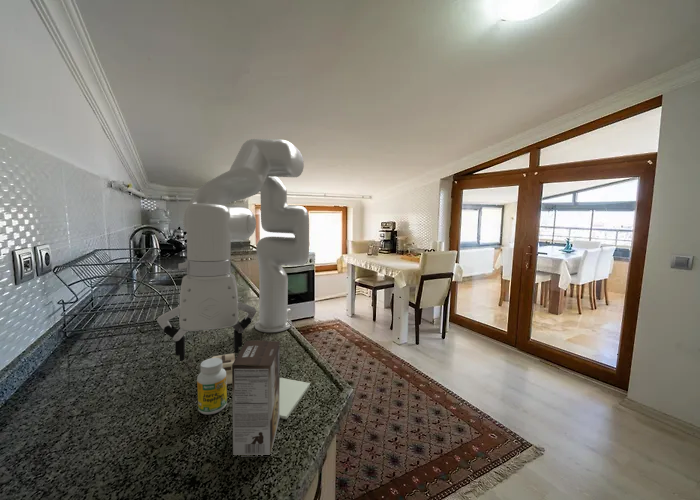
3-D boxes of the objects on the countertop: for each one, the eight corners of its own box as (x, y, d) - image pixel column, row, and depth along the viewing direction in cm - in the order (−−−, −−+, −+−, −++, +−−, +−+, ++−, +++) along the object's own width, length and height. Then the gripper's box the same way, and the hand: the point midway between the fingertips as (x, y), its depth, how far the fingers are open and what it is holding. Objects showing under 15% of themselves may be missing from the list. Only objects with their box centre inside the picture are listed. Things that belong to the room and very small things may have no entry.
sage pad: (263, 376, 72) (263, 374, 72) (310, 385, 69) (310, 383, 69) (232, 407, 60) (232, 404, 60) (286, 419, 57) (286, 416, 57)
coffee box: (246, 419, 57) (246, 339, 55) (280, 418, 57) (281, 339, 55) (231, 458, 48) (230, 364, 46) (271, 457, 48) (272, 364, 46)
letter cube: (212, 376, 71) (212, 355, 71) (234, 372, 73) (234, 352, 73) (212, 387, 67) (211, 366, 66) (235, 383, 69) (235, 362, 68)
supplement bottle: (224, 395, 64) (223, 353, 63) (229, 409, 59) (228, 364, 58) (196, 403, 61) (195, 359, 60) (199, 419, 56) (198, 372, 55)
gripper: (152, 273, 50) (155, 371, 51) (259, 270, 57) (258, 355, 59) (159, 267, 56) (161, 353, 58) (253, 264, 64) (253, 340, 65)
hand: (210, 354), depth 58 cm, fingers open, 9 cm apart
